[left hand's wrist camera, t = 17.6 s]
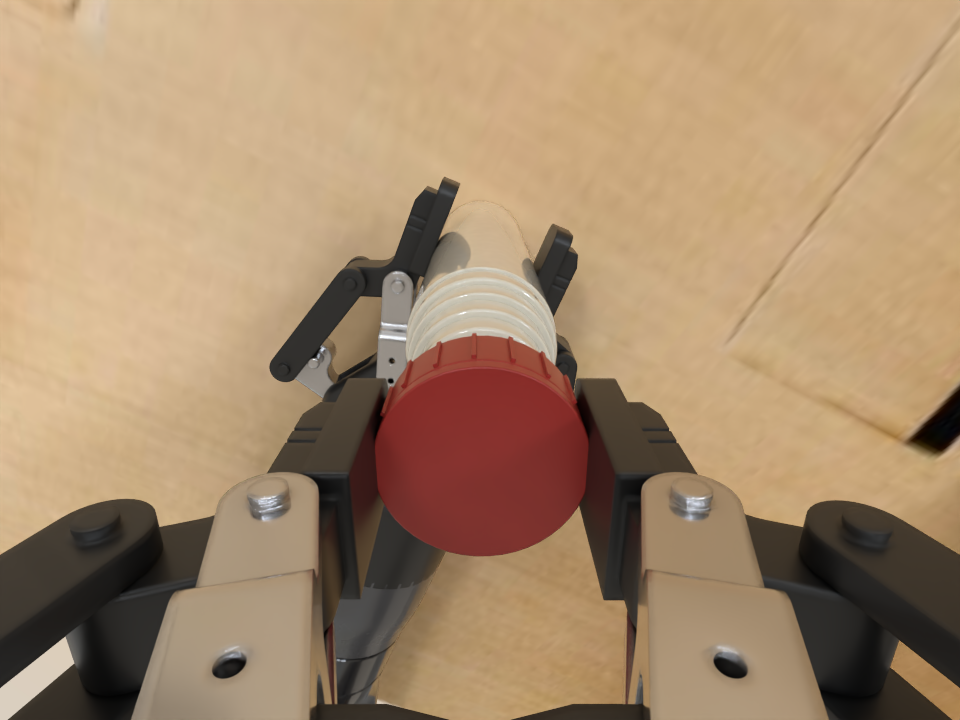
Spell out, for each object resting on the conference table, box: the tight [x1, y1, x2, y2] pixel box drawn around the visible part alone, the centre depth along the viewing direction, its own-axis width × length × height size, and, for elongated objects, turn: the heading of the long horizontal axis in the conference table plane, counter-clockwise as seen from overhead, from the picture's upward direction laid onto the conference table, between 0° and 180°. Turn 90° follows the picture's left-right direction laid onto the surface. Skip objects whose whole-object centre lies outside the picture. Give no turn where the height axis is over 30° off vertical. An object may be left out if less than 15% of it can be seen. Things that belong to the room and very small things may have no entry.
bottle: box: [406, 201, 557, 365], centre depth 21 cm, size 4×4×21 cm
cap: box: [375, 333, 589, 556], centre depth 11 cm, size 4×4×2 cm
